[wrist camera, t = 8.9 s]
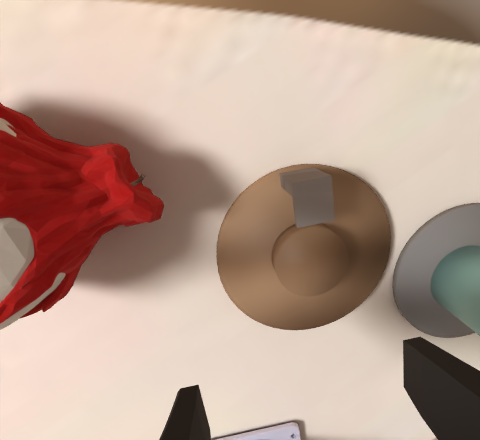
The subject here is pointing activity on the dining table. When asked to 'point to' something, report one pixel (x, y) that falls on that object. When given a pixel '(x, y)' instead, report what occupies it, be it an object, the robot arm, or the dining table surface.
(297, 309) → the tan wide-brim hat
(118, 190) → the multicoloured piece
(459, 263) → the kettle
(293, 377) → the dining table surface
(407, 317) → the coaster
